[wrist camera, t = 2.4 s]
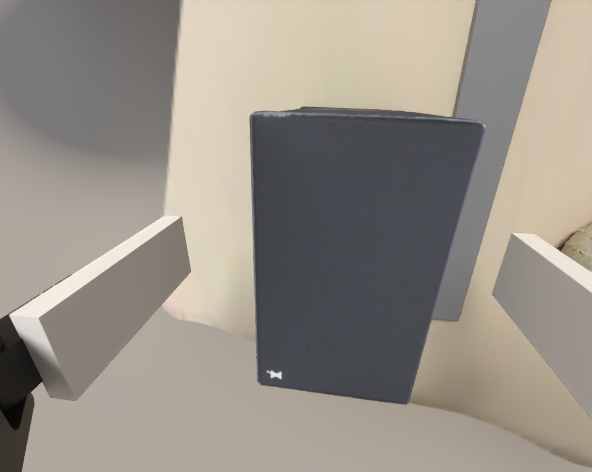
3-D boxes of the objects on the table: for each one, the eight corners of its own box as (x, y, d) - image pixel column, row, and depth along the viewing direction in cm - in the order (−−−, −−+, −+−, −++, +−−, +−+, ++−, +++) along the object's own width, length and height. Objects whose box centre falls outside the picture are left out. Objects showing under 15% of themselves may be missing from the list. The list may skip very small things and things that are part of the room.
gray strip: (588, -150, 12) (598, -160, 11) (456, 316, 21) (458, 321, 21) (505, -141, 12) (511, -151, 11) (412, 312, 22) (414, 316, 21)
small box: (383, 272, 21) (415, 416, 11) (292, 263, 21) (250, 390, 12) (413, 109, 16) (507, 119, 7) (296, 104, 17) (235, 108, 8)
